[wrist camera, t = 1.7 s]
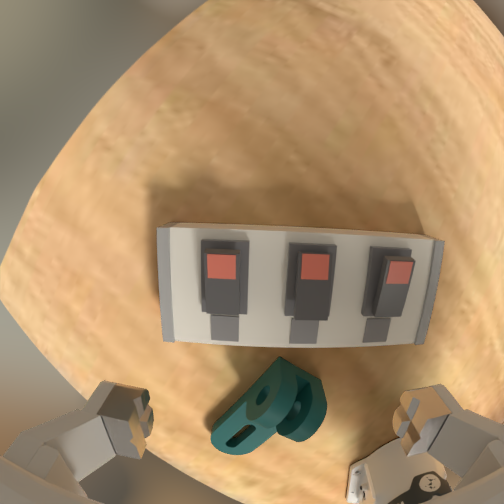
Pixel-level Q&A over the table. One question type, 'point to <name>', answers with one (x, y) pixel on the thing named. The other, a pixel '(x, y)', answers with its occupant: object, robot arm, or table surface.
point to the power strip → (293, 285)
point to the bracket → (273, 410)
